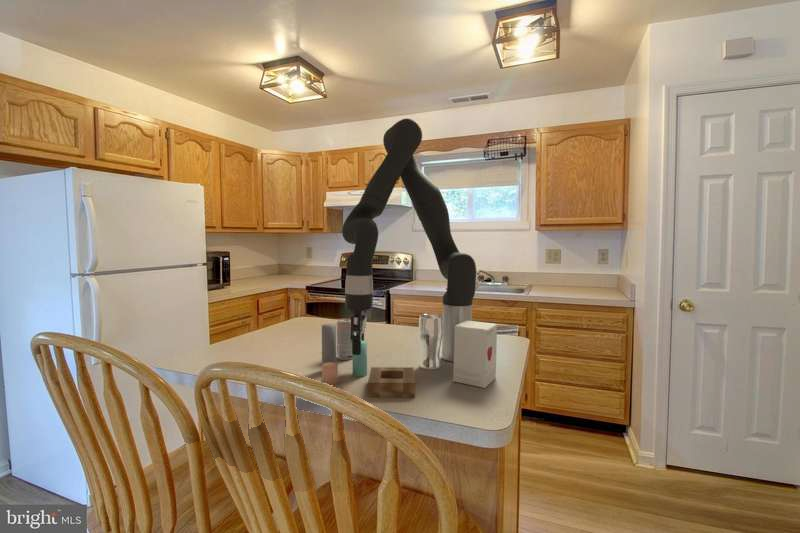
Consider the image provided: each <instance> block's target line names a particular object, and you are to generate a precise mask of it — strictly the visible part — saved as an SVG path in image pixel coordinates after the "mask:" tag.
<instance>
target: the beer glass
mask: <svg viewBox="0 0 800 533" xmlns="http://www.w3.org/2000/svg"><path fill="white" fill-rule="evenodd" d="M442 332H443V327H442V315H441V314H436V313H423V314H420V315H419V320H418V340H419V344H420V346H419V347H420V352H421V357H420V363H419V367H420V368H421V369H424V370H429V371H431V370H438V369H441V360H440V350H441V347H442Z"/></svg>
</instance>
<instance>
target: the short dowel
mask: <svg viewBox="0 0 800 533" xmlns="http://www.w3.org/2000/svg"><path fill="white" fill-rule="evenodd" d="M338 369H339V364H338V363H337V362H336V363H334V362H328V363H324V364H322V363H321V383H322V382H324V383H327V384H329V385H333V386H332V387H335V386H337V385H338V384H339V380H338V379H339V376H338V375H339V373H338V372H339V371H338Z"/></svg>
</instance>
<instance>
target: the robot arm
mask: <svg viewBox="0 0 800 533" xmlns="http://www.w3.org/2000/svg"><path fill="white" fill-rule="evenodd" d="M382 140H383V146H384V150H385V152H386V156H385V157H384V159H383V161H382V162H381V164H380V165H379V166H378V168H377V169H376V171H375V172H374V173H373V175H372V177H371V178H370V179H369V181H368V183H367V185H366V187H365V189H364V191H363V193H362V195H361V197H360V200H359V201H358V203H357V204H356V205H355V206H354V208H353V209H352V210H351V212H350V213H349V214H348V216H347V217H346V218H345V220H344V222H343V225H342V229H341V234H342V237H343V239H344V241H345V242H347V243H348V244H352V245H354V250H353V252H352V253H349V254H348V255H347V257H346V262H345V263H346V266H345V267H346V276H345V284H344V287H345V288H344V289H345V290H344V291H345V292H344V308H345V309H346V310H348V311H352V312H353V313H352V315H351V316H350V319H351V337H350V339H351V340H352V354H353V355H360V353H361V340H363V341H365V332H366V328H367V314H366V313H367V311H371V310H372V309H373V302H374V301H373V300H374V280H373V260H374V256H375V252H376V249H377V244H378V240H379V229H378V225H377V223H376V222H375V220H374V219H375V218H377V217H379V216H381V215H382V214H383V212H384V210H385V209H386V206H387V204H388V203H389V202H388V201H389V199H390V197H391V195H392V193H393V190H394V188H395V186H396V185H397V182H398V180H399V178H400V179H401V181H402V183H403V185H404V188H405V190H406V192H407V194H408V197H409V199H410V202H411V204H412V206H413V210H415V214H416V215H417V218H418V220H419V222H420V223H421V226H422V228H423V230H424V233H425V234H426V237H427V239H428V240H429V243H430V245H431V247H432V250H433V253H434V256H435V259H436V260H435V261H436V262H437V266H438V269H439V272H440V274H441V275H442V276H443V278H444V279H446V280H447V284H446V291H445V293H444V294H443V295H442V313H441V314H442V315H441V316H442V327H443V332H442V341H441V358H442V359H443V360H444V361H446V362H447V361H448V362H451V363H452V362H453V363H454V330H455V326H456V325H458V324H460V323H463V322H465V321H467V320H468V321H473V301H474V300H473V299H474V297H475V294H476V283H477V266H476V262H475V260H474V258H473V257H472V256H471V255H470V254H468V253H464V252H460V251H459V249H458V247H457V244H456V243H455V241H454V239H453V236H452V233H451V232H452V231H451V222H450V214H449V209H448V207H447V204H446V201H445V200H444V197H443V194H442V192H441V190H440V188H439V187H438V186H437V185H436V184H435V182H434V181H432V179H430V178H429V177H428V176H427V175H426V174H425V173H424V172H423V171H422V170H421V168H420V166H419V165H418V162H417V160H416V157H415V156H414V154H415V153H416V151H417V149H418V147H419V146H420V145H421V143H422V142H423V131H422V127H421V126H420V124H419V123H418V122H417V121H416V120H415V119H412V118H402V119H400V120H398V121H397V122H395V123H394V124H393V125H392V126H391V127H389V128H388V129H387V130H386V131H385V133H384V134H383V139H382Z"/></svg>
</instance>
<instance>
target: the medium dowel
mask: <svg viewBox="0 0 800 533" xmlns="http://www.w3.org/2000/svg"><path fill="white" fill-rule="evenodd" d="M352 376H353V377H356V378H363V377H366V376H368V341H367V340H364V341H363V340H361V353H360V355H353V359H352Z"/></svg>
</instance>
